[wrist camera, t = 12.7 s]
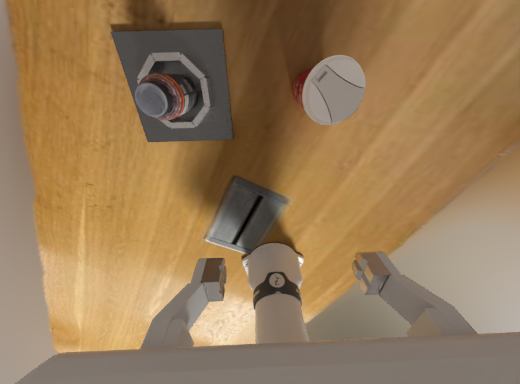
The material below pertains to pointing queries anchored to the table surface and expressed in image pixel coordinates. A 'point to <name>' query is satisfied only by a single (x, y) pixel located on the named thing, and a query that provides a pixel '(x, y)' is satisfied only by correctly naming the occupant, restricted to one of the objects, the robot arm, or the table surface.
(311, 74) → the paper cup
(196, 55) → the ring collar
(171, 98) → the supplement bottle
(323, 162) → the table surface
